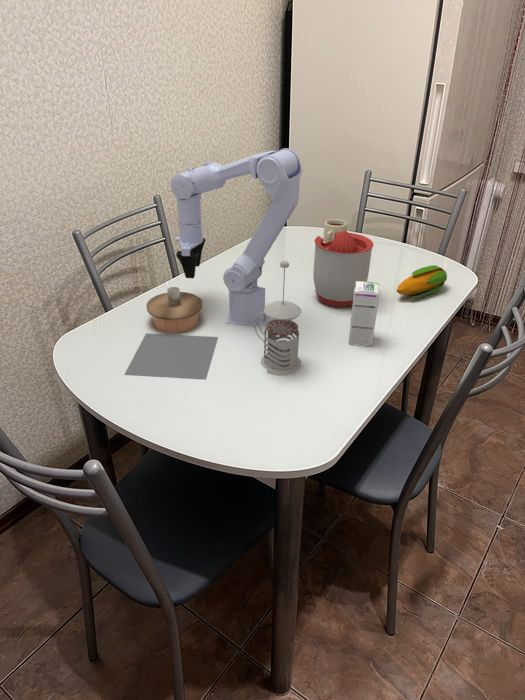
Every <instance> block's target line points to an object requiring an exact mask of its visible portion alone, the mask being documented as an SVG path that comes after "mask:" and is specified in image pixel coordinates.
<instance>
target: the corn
mask: <svg viewBox="0 0 525 700" xmlns="http://www.w3.org/2000/svg"><path fill="white" fill-rule="evenodd" d="M447 279H448V274H447V271H446V270H444V268H442V267H440V266H438V265H437V264H436V265H435V264H434V265H428V266H423V267H420V268H418V269H416V270H414V271H412V273H411V275H410V276H408V277H407V278H405V279H404V280H403V281H401V283H399V284H398V286H397V289H396V292H397V294H399V295H403V296H404V295H407V296H408V295H409V296H411V295H414V296H412V297H411V298H410V299H411V300H417V299H420V298H422V297H425V296H428V295H430V294H434V293H436V292H437V293H438V291H440V290H441V289H442V287H444V284H445V282H446V281H447ZM423 292H424V293H423ZM417 294H418V295H417Z"/></svg>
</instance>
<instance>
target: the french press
mask: <svg viewBox="0 0 525 700" xmlns="http://www.w3.org/2000/svg"><path fill="white" fill-rule="evenodd" d="M279 266H280V268H282V269H283V281H282V282H283V283H282V285H283V286H282V287H283V289H282V300H275V301H273V302H270V303H268V304H267V305H266V304H265V308H264V310H263V311H262V312H261V313H259V314H258V315H259V317H258V325H257V326H258V327H259V330H260V332H261V334H262V335H263V336H264V339H263V338H262V337H261V336H260V335H259V334H258V331H257V329H256V325H255V321H256V318H257V316H258V315H257V316H256V318H255V320H254V325H253V326H254V327H253V328H254V331H255V334H256V335H257V337H258V338H259V339H260V340H261V341H262V342H263V356H262V357H261V359H260V364H261V366H262V367H263V368H264V369H265V370H267V371H266V372H267V374H270V375H274V376H288V375H292V374H295V373H297V372H299V369H300V370H301V368H300V367H302V366H301V363H302V360H301V359H300V358H299V357H298V356H299V343H300V342H299V341H300V340H299V339H300V330H299V325H298V324H297V323H296V322H295V321H293V320H295V319H296V318H299V316H300V315H301V314H302V308H301V307H300V306H299V305H297V303H294V302H292V301H289V300H285V280H286V277H285V276H286V268H289V267H290V263H289V261H288V260H285V259H284V260H281V261H280V263H279ZM262 313H264V314H265V315H264V319H267V318H268V317H269V318H271V319H272V320H270V321H268V322H267V323H266V324H265V330H264V332H263V330H262V328H261V325H260V324H259V318H260V315H261V314H262ZM293 334H294V335H293ZM290 336H291V337H290ZM292 338H293V339H292ZM281 339H283V340H281Z"/></svg>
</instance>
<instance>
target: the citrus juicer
mask: <svg viewBox="0 0 525 700" xmlns="http://www.w3.org/2000/svg"><path fill="white" fill-rule="evenodd" d="M314 244H315V245H314V247H315V248H314V259H313V278H312V279H313V284H314V288H315V289H314V290H315V293H316V296H317V300H318V301H320V302H321V303H323V304H325V305H328V306H331V307H334V308H339V307H340V308H342V307H343V308H345V307H350V306H351V307H352V306H353V297H354V288H355V284H356V281H363V282H368V279H369V272H370V266H371V258H372V257H371V256H372V250H373V248H374V242H373V241H372V239H370V238H368V237H367V236H364V235H362V234H358V233H353V232H348V230H347V231H343V232H335V236H334V240H333V241H331V242H328V243H326V242H324V240H323V237H322V236H321V235H318V236H316V237H315V238H314Z"/></svg>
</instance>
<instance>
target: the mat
mask: <svg viewBox="0 0 525 700" xmlns="http://www.w3.org/2000/svg"><path fill="white" fill-rule="evenodd" d="M218 339H219V336H206V335H205V336H203V335H189V334H188V335H187V334H185V335H183V334H172V333H171V334H169V333H168V334H167V333H166V334H165V333H150V332H149V333H148V332H146V333H145V334H144V336H143V339H142V341H141V342H140V343H139V346H138V348H137V350H136V352H135V353H134V355H133V358H132V359H131V361H130V363H129V365H128V367H127V369H126V371H125V372H124V375H125V376H138V377H155V378H171V379H172V378H173V379H187V380H188V379H191V380H204V381H205V380H207V377H208V373H209V370H210V367H211V363H212V360H213V357H214V353H215V350H216V346H217V343H218Z"/></svg>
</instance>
